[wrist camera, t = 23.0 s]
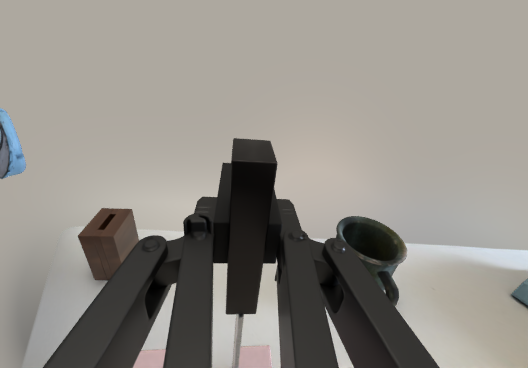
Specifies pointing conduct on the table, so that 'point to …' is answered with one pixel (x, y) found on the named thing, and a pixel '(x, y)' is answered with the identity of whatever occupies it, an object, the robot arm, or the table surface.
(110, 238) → the knife block
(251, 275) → the knife
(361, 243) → the mug
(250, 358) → the cake slice
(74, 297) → the table surface
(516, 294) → the book
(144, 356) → the cake
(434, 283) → the table surface
